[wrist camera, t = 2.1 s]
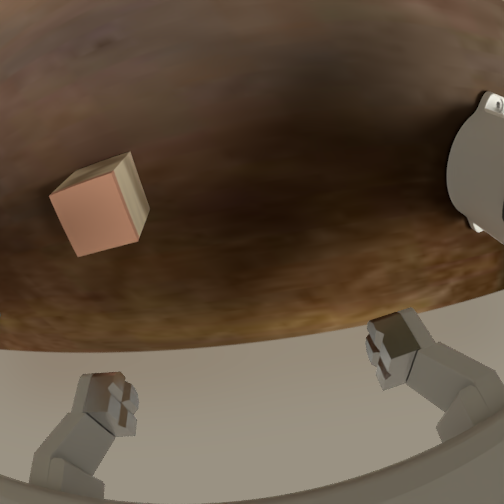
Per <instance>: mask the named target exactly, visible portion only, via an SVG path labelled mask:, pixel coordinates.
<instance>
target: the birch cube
mask: <svg viewBox="0 0 504 504" xmlns="http://www.w3.org/2000/svg"><path fill="white" fill-rule="evenodd" d="M49 198H50V200H51V202H52V205H53V207H54V209H55V211H56V213H57V216H58V218H59V220H60V222H61V224H62V226H63V228H64V231H65V233H66V235H67V237H68V239H69V241H70V243H71V245H72V247H73V249H74V251H75V252H76V254H77V256H78V257H81V256H84V255H88V254H92V253H95V252H99V251H103V250H107V249H110V248H114V247H118V246H122V245H126V244H130V243H134V242H138V240H139V238H140V235H141V232H142V229H143V227H144V224H145V221H146V219H147V216H148V213H149V211H150V207H149V204H148V202H147V199H146V196H145V193H144V190H143V187H142V185H141V182H140V179H139V176H138V173H137V170H136V167H135V164H134V161H133V158H132V155H131V152H127V153H124V154H121V155H118V156H115V157H112V158H109V159H106V160H103V161H100V162H98V163H95V164H92V165H89V166H87V167H84V168H81V169H79V170H76V171H75V172H74V173H72V174H71V175H70V176H69V177H68V178H67V179H66V180H65V181H64V182H63V183H62V184H61V185H60V186H59V187H57V188H56V189H55V190H54V191H53V192H52V193H51V194H50V195H49Z"/></svg>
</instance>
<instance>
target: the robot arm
mask: <svg viewBox="0 0 504 504" xmlns="http://www.w3.org/2000/svg"><path fill="white" fill-rule="evenodd" d="M447 188H448V193H449V196H450V199H451V201H452V203H453V205H454V206H455V208H456V209H457V210H458V211H459V212H461V213H462V214H464V215H465V216H466V217H467V219H468V222H469V224H470V226H471V228H472V229H473V230H475V231H476V232H481V231H483V230H484V231H486V232H487V233H488V234H490V235H491V236H492V237H494V238H495V239H497V240H498V241H499V242H501V243H502V244H503V245H504V97H502V96H499V95H497V94H495V93H492V92H490V91H487V92H485V93H484V95H483V96H482V99H481V101H480V103H479V105H478V108H477V110H476V111H475V112H474V114H473V115H472V116H470V117H469V118H468V119H467V121H466V122H465V123H464V124H463V125H462V127H461V128H460V130H459V132H458V133H457V135H456V137H455V140H454V142H453V144H452V147H451V151H450V154H449V159H448V164H447ZM367 330H368V332H369V335H368V336H367V337H366V350H367V354H368V357H369V360H370V362H371V364H372V365H374V366H376V367H377V372H376V376H377V378H378V381H379V383H380V385H381V387H382V390H386V389H390V388H393V387H395V386H398V385H401V384H404V383H406V384H407V385H408V386H409V387H411V388H412V389H414V390H415V391H416V392H418V393H419V394H420V395H422V396H423V397H425V398H426V399H428V400H429V401H430V402H431V403H433V404H434V405H436V406H437V407H438V408H440V409H441V410H443V411H444V412H445V414H444V415H443V417H442V418H441V420H440V421H439V422H438V424H437V426H436V429H437V431H438V434H439V436H440V438H441V440H442V443H441V444H439V445H437V446H435V447H433V448H431V449H428V450H426V451H424V452H422V453H420V454H417V455H415V456H413V457H410V458H408V459H406V460H403V461H400V462H398V463H395V464H393V465H390V466H387V467H385V468H382V469H379V470H376V471H373V472H370V473H367V474H364V475H361V476H358V477H355V478H351V479H348V480H345V481H341V482H338V483H334V484H330V485H326V486H323V487H318V488H314V489H309V490H305V491H300V492H295V493H290V494H285V495H279V496H273V497H266V498H259V499H252V500H243V501H234V502H222V503H204V504H504V385H503V383H502V381H501V380H500V378H499V376H498V375H497V373H496V371H495V370H493V369H491V368H489V367H487V366H485V365H483V364H482V363H480V362H478V361H476V360H474V359H472V358H470V357H468V356H466V355H464V354H462V353H460V352H458V351H456V350H455V349H453V348H451V347H449V346H447V345H445V344H443V343H441V342H438V343H435V341H434V339H433V338H432V336H431V335H430V333H429V331H428V330H427V328H426V327H425V325H424V324H423V322H422V321H421V319H420V318H419V316H418V315H417V313H416V312H415V310H414V309H413V308H411V307H410V308H407V309H404V310H401V311H398V312H394V313H391V314H388V315H385V316H382V317H379V318H376V319H373V320H370V321H369V322H368V324H367ZM138 404H139V400H138V394H137V392H136V390H135V388H134V387H133V385H132V384H130V383H128V382H126V381H125V376H124V375H123V374H122V373H121V372H109V373H92V374H83V375H82V376H81V377H80V379H79V383H78V387H77V391H76V394H75V398H74V403H73V407H72V411H71V413H67V415H66V416H65V417H64V418H63V419H62V420H61V422H60V423H59V424H58V425H57V426H56V428H55V429H54V430H53V431H52V432H51V434H50V435H49V436H48V437H47V438H46V439H45V441H44V442H43V443H42V444H41V445H40V447H39V448H38V449H37V451H36V452H35V453H34V457H33V462H32V467H31V473H30V479H29V483H25V482H22V481H19V480H16V479H12V478H9V477H6V476H4V475H1V474H0V504H153V503H137V502H136V503H135V502H125V501H115V500H107V499H104V485H105V484H104V483H103V481H101V480H99V479H97V478H95V477H93V474H94V473H95V471H96V469H97V468H98V466H99V464H100V463H101V461H102V459H103V458H104V456H105V454H106V453H107V451H108V449H109V448H110V446H111V445H112V443H113V441H114V440H115V437H116V436H117V437H119V436H135V434H136V423H137V419H136V417H135V416H134V413H135V412H136V411H137V409H138Z"/></svg>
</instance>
